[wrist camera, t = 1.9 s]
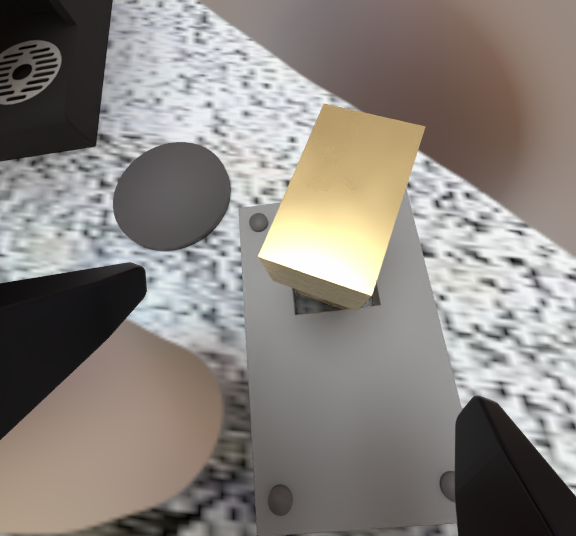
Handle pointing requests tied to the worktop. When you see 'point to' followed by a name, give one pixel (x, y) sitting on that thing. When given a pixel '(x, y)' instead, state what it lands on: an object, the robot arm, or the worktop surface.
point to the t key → (341, 206)
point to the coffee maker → (51, 74)
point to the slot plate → (349, 397)
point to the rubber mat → (172, 196)
